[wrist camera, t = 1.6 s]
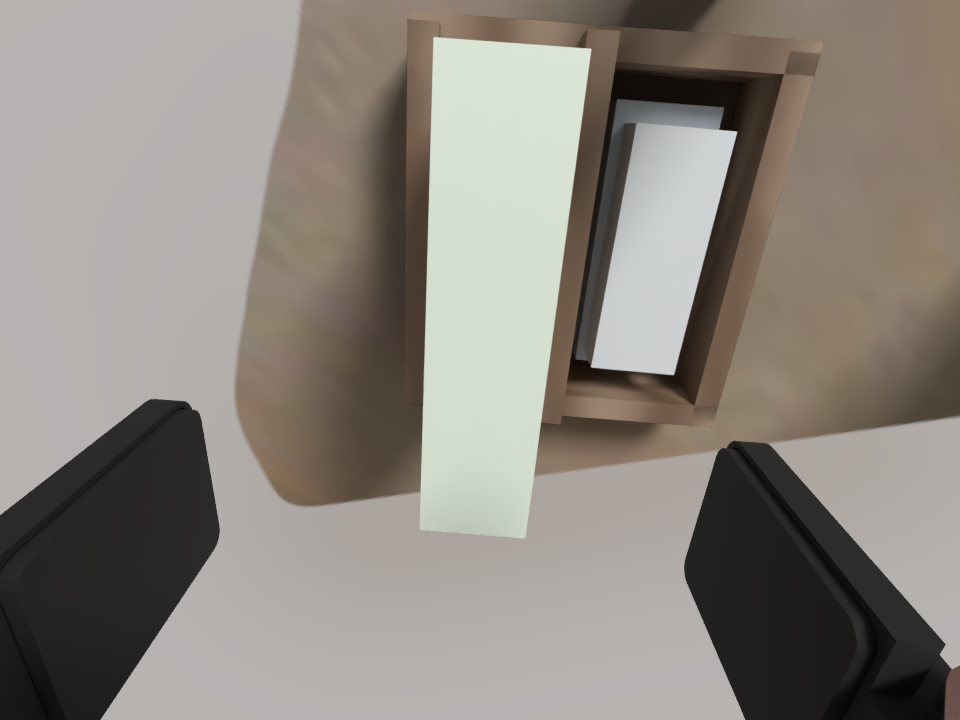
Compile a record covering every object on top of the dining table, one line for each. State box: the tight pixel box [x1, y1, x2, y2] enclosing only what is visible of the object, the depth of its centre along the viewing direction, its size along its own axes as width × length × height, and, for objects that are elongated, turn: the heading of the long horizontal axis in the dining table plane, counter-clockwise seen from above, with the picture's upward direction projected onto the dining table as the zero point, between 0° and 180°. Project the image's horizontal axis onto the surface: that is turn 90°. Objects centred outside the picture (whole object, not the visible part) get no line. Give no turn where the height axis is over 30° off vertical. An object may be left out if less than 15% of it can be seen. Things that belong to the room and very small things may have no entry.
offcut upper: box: [584, 123, 737, 375], centre depth 31 cm, size 5×14×3 cm, turn 175°
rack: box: [404, 11, 824, 428], centre depth 31 cm, size 20×22×7 cm
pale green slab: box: [420, 37, 591, 538], centre depth 26 cm, size 4×16×20 cm, turn 176°
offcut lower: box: [572, 99, 724, 360], centre depth 34 cm, size 6×16×3 cm, turn 176°
